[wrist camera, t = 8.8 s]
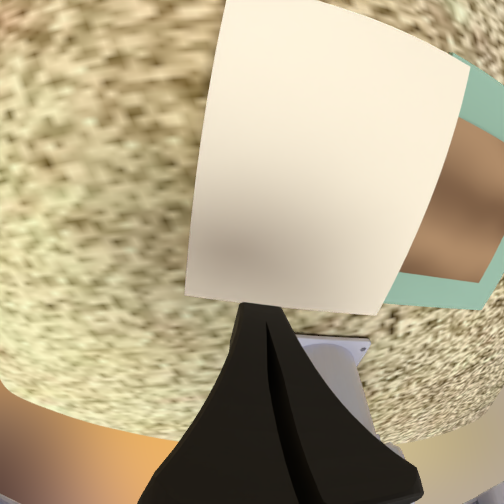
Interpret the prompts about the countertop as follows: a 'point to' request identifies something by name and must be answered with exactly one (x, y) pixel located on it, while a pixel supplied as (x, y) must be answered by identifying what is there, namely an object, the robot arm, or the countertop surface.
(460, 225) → the walnut coaster
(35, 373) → the countertop surface
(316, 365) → the robot arm
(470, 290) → the sage mat
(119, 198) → the countertop surface
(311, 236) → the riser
